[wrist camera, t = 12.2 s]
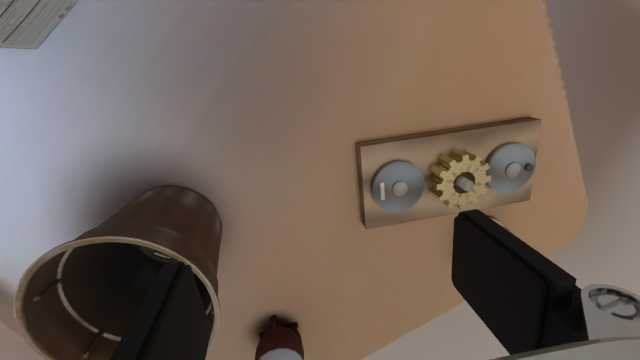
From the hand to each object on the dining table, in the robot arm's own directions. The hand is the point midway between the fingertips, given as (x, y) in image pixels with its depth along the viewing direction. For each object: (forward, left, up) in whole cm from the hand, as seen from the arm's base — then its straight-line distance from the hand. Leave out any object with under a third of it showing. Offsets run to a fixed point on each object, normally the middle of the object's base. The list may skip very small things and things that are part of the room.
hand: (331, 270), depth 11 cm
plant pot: (+12, -17, -31) cm, 37 cm away
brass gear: (+10, +21, -28) cm, 37 cm away
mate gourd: (+33, -6, -31) cm, 45 cm away
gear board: (+10, +21, -30) cm, 38 cm away
